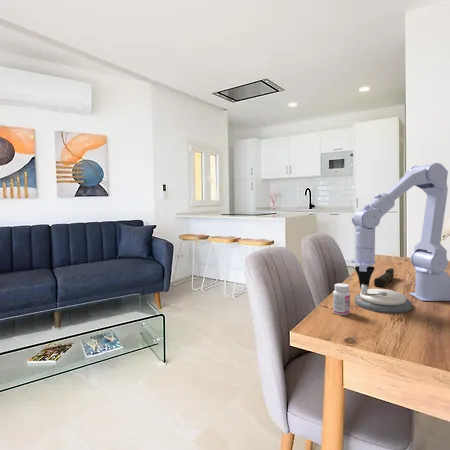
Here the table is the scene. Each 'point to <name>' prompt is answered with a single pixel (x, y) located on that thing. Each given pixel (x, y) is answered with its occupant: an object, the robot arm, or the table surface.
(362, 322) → the table surface
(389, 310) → the dial base
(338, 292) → the pill bottle
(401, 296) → the dial
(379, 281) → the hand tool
